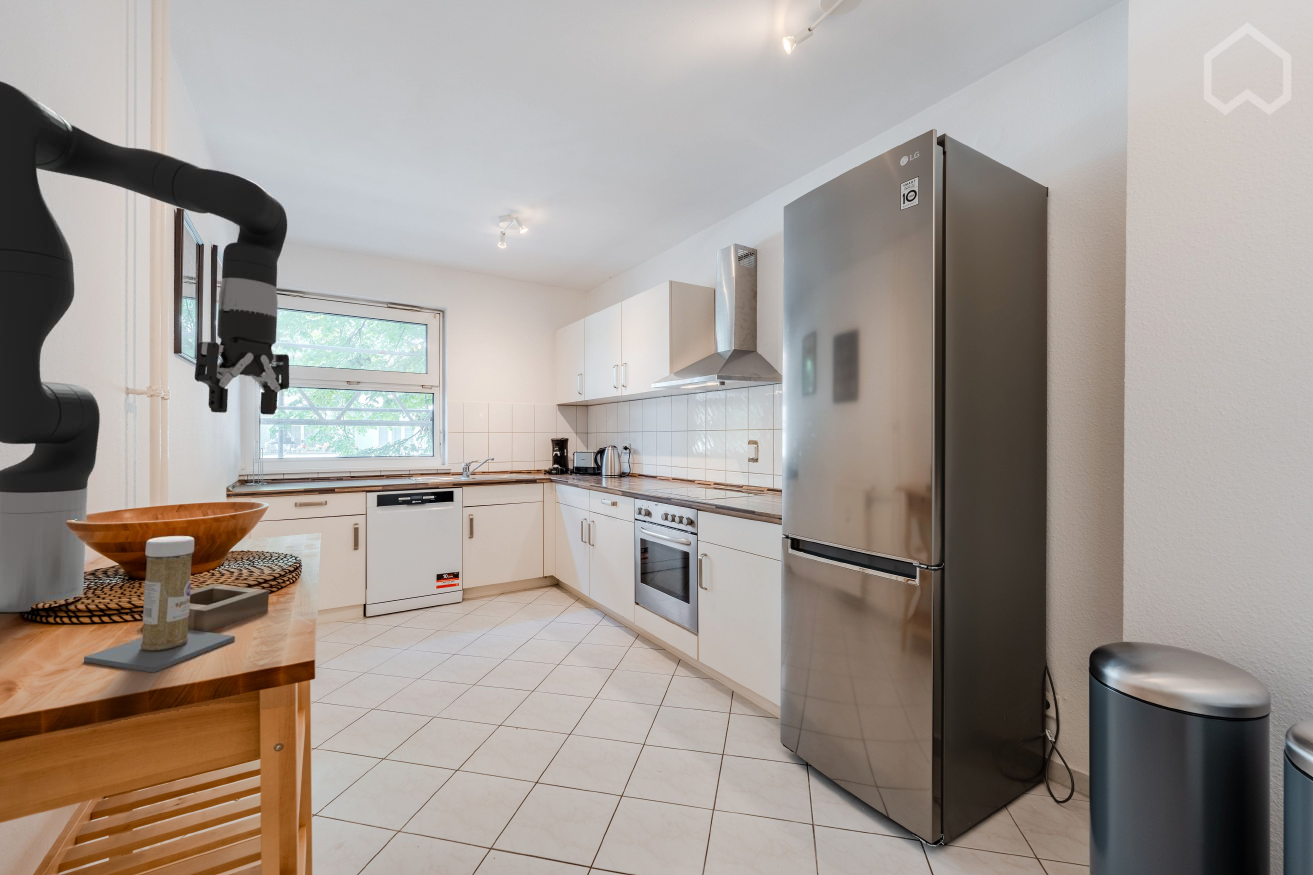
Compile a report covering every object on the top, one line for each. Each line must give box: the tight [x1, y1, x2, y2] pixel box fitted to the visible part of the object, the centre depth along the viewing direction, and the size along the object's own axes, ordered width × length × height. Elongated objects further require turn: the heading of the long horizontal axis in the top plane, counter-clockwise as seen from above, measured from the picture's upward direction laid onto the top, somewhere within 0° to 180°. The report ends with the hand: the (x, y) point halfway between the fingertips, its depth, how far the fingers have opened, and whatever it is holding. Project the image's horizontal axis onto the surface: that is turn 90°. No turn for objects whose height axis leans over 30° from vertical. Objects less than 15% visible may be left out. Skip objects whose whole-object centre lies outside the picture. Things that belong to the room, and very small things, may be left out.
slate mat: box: [83, 630, 236, 674], centre depth 69 cm, size 10×10×1 cm
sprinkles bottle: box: [141, 535, 195, 651], centre depth 69 cm, size 5×5×14 cm
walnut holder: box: [187, 583, 270, 632], centre depth 81 cm, size 10×10×3 cm
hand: (244, 413), depth 88 cm, fingers open, 8 cm apart
